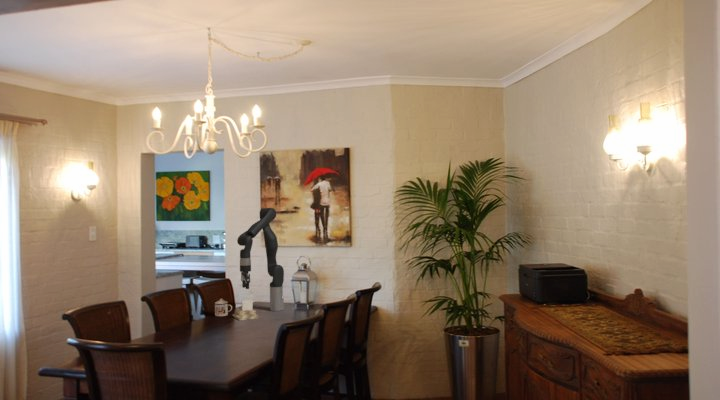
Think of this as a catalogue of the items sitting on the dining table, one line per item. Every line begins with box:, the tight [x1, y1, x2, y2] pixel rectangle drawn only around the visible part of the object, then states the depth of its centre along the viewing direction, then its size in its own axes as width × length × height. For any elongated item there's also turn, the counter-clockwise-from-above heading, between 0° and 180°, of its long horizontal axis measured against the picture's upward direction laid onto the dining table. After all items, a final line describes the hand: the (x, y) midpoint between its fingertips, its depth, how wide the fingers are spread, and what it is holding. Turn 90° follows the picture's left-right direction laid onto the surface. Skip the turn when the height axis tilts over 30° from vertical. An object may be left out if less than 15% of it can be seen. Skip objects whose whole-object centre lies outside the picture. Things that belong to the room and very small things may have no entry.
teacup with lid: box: [214, 298, 233, 317], centre depth 394 cm, size 12×9×12 cm
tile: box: [241, 299, 254, 311], centre depth 386 cm, size 7×2×10 cm, turn 116°
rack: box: [232, 308, 260, 321], centre depth 385 cm, size 14×17×5 cm
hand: (245, 288), depth 386 cm, fingers open, 8 cm apart
